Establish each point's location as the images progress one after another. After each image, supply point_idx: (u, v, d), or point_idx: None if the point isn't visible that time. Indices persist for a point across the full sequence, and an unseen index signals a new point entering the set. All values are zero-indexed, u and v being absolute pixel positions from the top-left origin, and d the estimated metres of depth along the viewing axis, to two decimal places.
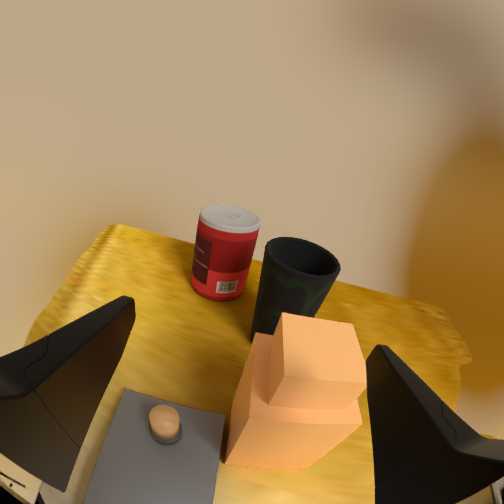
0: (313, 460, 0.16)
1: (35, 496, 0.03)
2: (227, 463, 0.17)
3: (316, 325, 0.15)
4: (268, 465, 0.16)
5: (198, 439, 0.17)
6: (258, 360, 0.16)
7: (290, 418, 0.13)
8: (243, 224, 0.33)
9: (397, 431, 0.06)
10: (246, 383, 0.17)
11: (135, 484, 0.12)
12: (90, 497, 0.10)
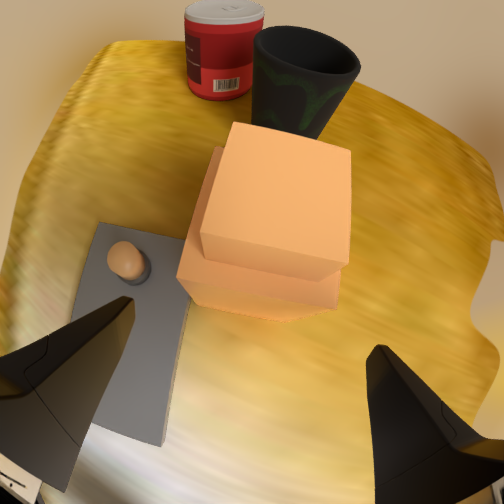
0: (290, 319, 0.18)
1: (35, 496, 0.03)
2: (199, 305, 0.20)
3: (284, 145, 0.10)
4: (242, 313, 0.19)
5: (167, 276, 0.19)
6: (207, 188, 0.12)
7: (232, 283, 0.11)
8: (240, 14, 0.18)
9: (397, 431, 0.06)
10: None
11: None
12: None
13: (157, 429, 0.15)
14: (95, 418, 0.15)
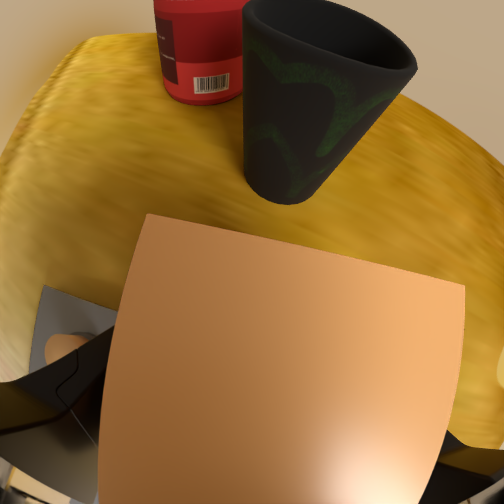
0: None
1: None
2: None
3: (311, 310, 0.03)
4: None
5: None
6: None
7: None
8: None
9: None
10: None
11: None
12: None
13: None
14: (70, 500, 0.08)
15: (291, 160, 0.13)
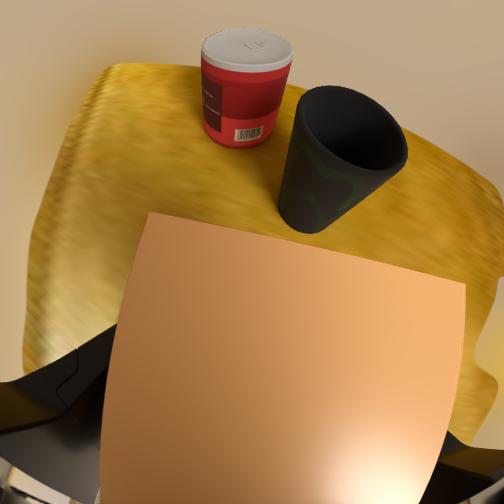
0: None
1: None
2: None
3: (314, 308, 0.03)
4: None
5: None
6: None
7: None
8: (267, 56, 0.18)
9: None
10: None
11: None
12: None
13: None
14: None
15: (319, 212, 0.20)
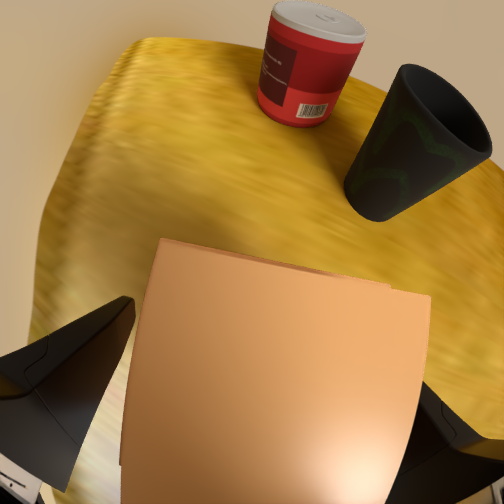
0: None
1: (35, 496, 0.03)
2: None
3: (292, 318, 0.04)
4: None
5: None
6: None
7: None
8: (343, 30, 0.14)
9: None
10: None
11: None
12: None
13: None
14: None
15: (404, 195, 0.16)
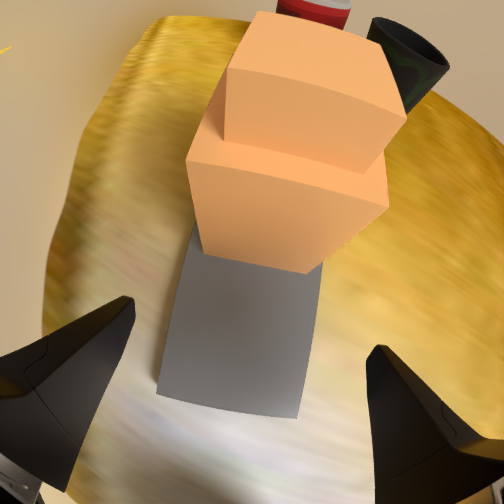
0: (316, 261, 0.15)
1: (35, 496, 0.03)
2: (206, 252, 0.17)
3: (314, 28, 0.07)
4: (257, 259, 0.16)
5: None
6: (225, 82, 0.09)
7: (259, 166, 0.08)
8: (334, 1, 0.17)
9: (397, 431, 0.06)
10: None
11: (230, 292, 0.17)
12: (176, 324, 0.16)
13: (294, 397, 0.15)
14: (212, 400, 0.15)
15: None
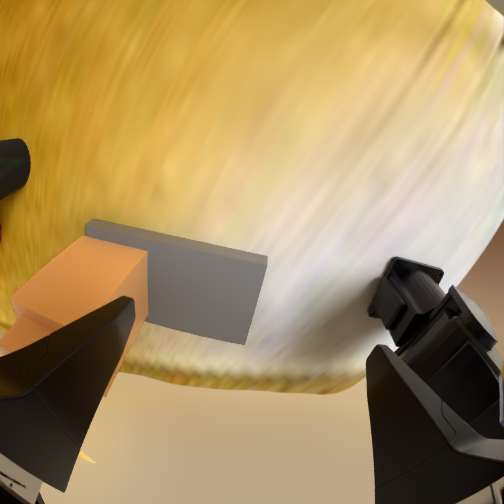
0: (132, 273, 0.18)
1: (35, 496, 0.03)
2: (146, 314, 0.24)
3: None
4: (142, 292, 0.21)
5: None
6: None
7: None
8: None
9: (397, 431, 0.06)
10: None
11: (169, 301, 0.23)
12: (196, 331, 0.24)
13: (246, 266, 0.21)
14: (246, 317, 0.23)
15: None
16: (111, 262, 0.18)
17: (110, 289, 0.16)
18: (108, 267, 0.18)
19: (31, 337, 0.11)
